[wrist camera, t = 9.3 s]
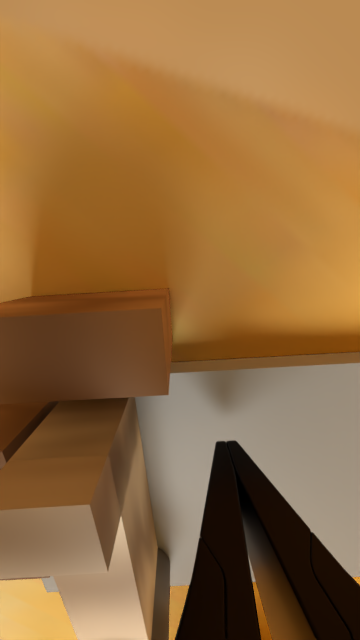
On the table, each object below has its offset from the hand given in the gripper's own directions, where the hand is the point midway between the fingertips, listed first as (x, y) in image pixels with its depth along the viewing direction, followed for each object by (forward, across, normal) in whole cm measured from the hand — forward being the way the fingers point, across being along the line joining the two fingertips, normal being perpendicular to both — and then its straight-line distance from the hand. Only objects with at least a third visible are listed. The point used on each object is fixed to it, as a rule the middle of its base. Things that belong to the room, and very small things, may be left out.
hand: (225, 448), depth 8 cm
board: (+2, +1, +5) cm, 5 cm away
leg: (+1, +5, +5) cm, 7 cm away
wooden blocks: (+2, +6, -2) cm, 7 cm away
